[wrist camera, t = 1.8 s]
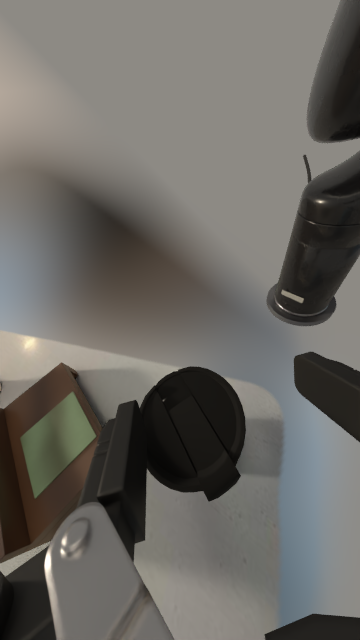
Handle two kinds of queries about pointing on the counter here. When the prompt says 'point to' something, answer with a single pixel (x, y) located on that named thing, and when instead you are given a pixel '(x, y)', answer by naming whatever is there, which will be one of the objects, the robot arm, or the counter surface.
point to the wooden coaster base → (43, 460)
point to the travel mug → (194, 432)
